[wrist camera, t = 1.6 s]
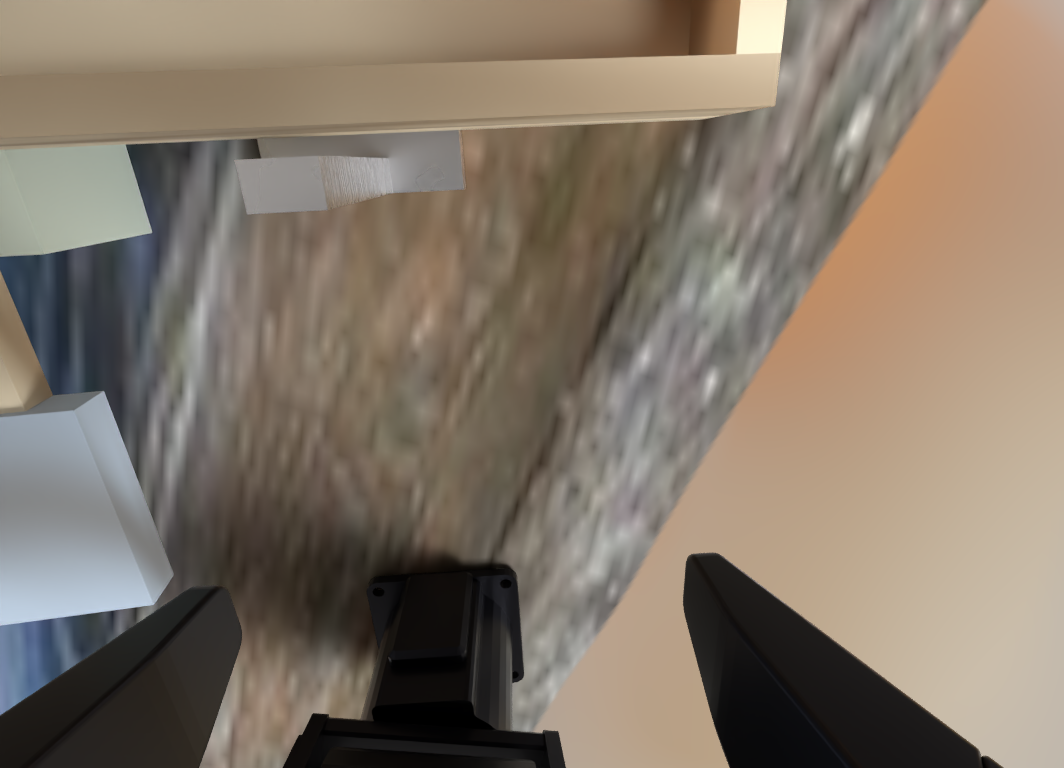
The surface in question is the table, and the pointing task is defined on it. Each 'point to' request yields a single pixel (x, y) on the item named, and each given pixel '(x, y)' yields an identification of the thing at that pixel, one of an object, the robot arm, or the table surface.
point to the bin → (67, 199)
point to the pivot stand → (348, 169)
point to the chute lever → (295, 111)
